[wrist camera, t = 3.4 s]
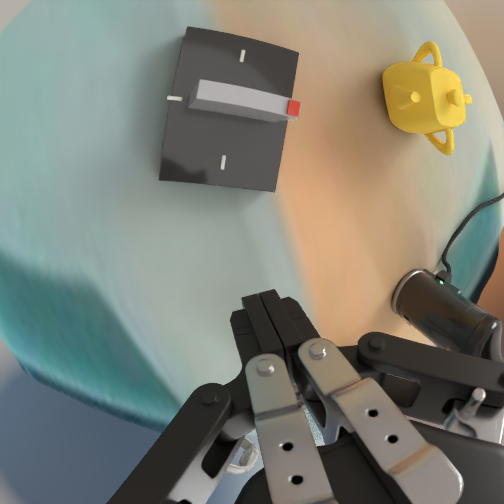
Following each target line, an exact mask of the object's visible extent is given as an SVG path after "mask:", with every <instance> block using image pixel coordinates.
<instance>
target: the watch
mask: <svg viewBox="0 0 504 504" xmlns="http://www.w3.org/2000/svg"><path fill="white" fill-rule="evenodd" d="M241 447H242V448H243V447H244V448H243V449H244V450H245V451H243V455H242V457H241V459H240V461H239V466H236V465H233V464H231V463H230V465H229V466H228V468H227V470H226V472H228V473H232V474H242V473H243V472H248V471H249V470H251V468H252V467H253V466H254V465H255V463H256V461H257V459H258V457H259V449H257V448H256V446H255V444H254V443H252V442H251V441H250V440H249V439H248V438H246V437H245V438H244V440H243V442H242V444H241Z"/></svg>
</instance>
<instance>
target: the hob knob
mask: <svg viewBox="0 0 504 504" xmlns="http://www.w3.org/2000/svg"><path fill="white" fill-rule="evenodd" d="M188 108H191V109H199V110H206V111H213V112H219V113H225V114H231V115H237V116H242V117H248V118H253V119H258V120H262V121H267V122H278V121H286V120H294V119H299V114H300V108H301V101H298V100H294V99H291V98H287V97H283V96H280V95H276V94H272V93H268V92H264V91H259V90H255V89H251V88H246V87H241V86H236V85H231V84H226V83H220V82H214V81H208V80H202V79H200V80H199V81H198V83H197V84H196V86H195V87H194V89H193V90H192V92H191V93H190V99H189V104H188Z"/></svg>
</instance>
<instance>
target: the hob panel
mask: <svg viewBox="0 0 504 504" xmlns="http://www.w3.org/2000/svg"><path fill="white" fill-rule="evenodd" d="M298 56H299V53H298V52H295V51H292V50H289V49H286V48H283V47H280V46H276V45H273V44H269V43H266V42H262V41H258V40H254V39H251V38H246V37H242V36H238V35H233V34H229V33H224V32H218V31H213V30H207V29H201V28H195V27H187V29H186V32H185V36H184V40H183V44H182V48H181V52H180V56H179V60H178V64H177V69H176V73H175V78H174V83H173V88H172V93H171V96H167V100H170V103H169V109H168V114H167V120H166V126H165V133H164V139H163V146H162V153H161V161H160V169H159V180H161V181H174V182H186V183H197V184H208V185H218V186H227V187H236V188H244V189H253V190H260V191H268V192H275V189H276V183H277V178H278V172H279V167H280V161H281V155H282V150H283V144H284V138H285V133H286V127H287V121H292V120H286V121H278V122H267V121H262V120H258V119H253V118H248V117H242V116H237V115H231V114H225V113H219V112H213V111H206V110H199V109H191V108H188V104H189V99H190V93H191V92H192V90H193V89H194V87H195V86H196V84H197V83H198V81H199V80H200V79H202V80H208V81H214V82H220V83H226V84H231V85H236V86H241V87H246V88H251V89H255V90H259V91H264V92H268V93H272V94H276V95H280V96H283V97H287V98H292V92H293V86H294V80H295V74H296V68H297V62H298Z"/></svg>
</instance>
